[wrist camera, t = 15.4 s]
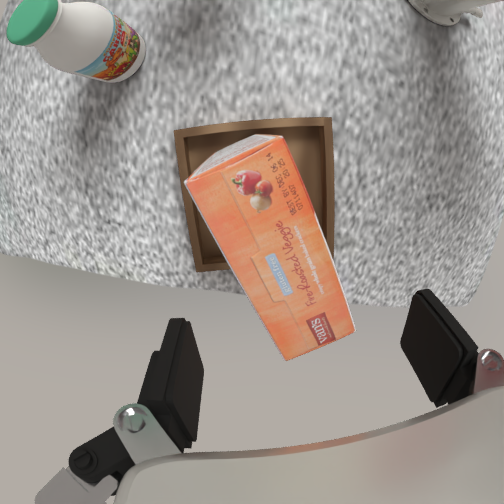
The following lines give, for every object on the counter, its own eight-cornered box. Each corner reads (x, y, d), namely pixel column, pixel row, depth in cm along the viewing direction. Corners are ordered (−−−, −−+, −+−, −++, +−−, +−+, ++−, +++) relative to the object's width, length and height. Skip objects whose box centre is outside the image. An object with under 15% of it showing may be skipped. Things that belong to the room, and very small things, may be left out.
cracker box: (302, 229, 37) (360, 335, 18) (261, 248, 38) (281, 367, 19) (259, 130, 32) (287, 132, 13) (213, 151, 33) (175, 185, 14)
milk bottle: (97, 91, 29) (-10, 80, 10) (93, 43, 25) (-3, 7, 7) (150, 73, 28) (64, 31, 10) (144, 24, 25) (70, -43, 7)
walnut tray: (324, 118, 32) (331, 117, 29) (327, 249, 39) (333, 258, 37) (179, 130, 32) (173, 130, 29) (199, 262, 39) (196, 272, 37)
